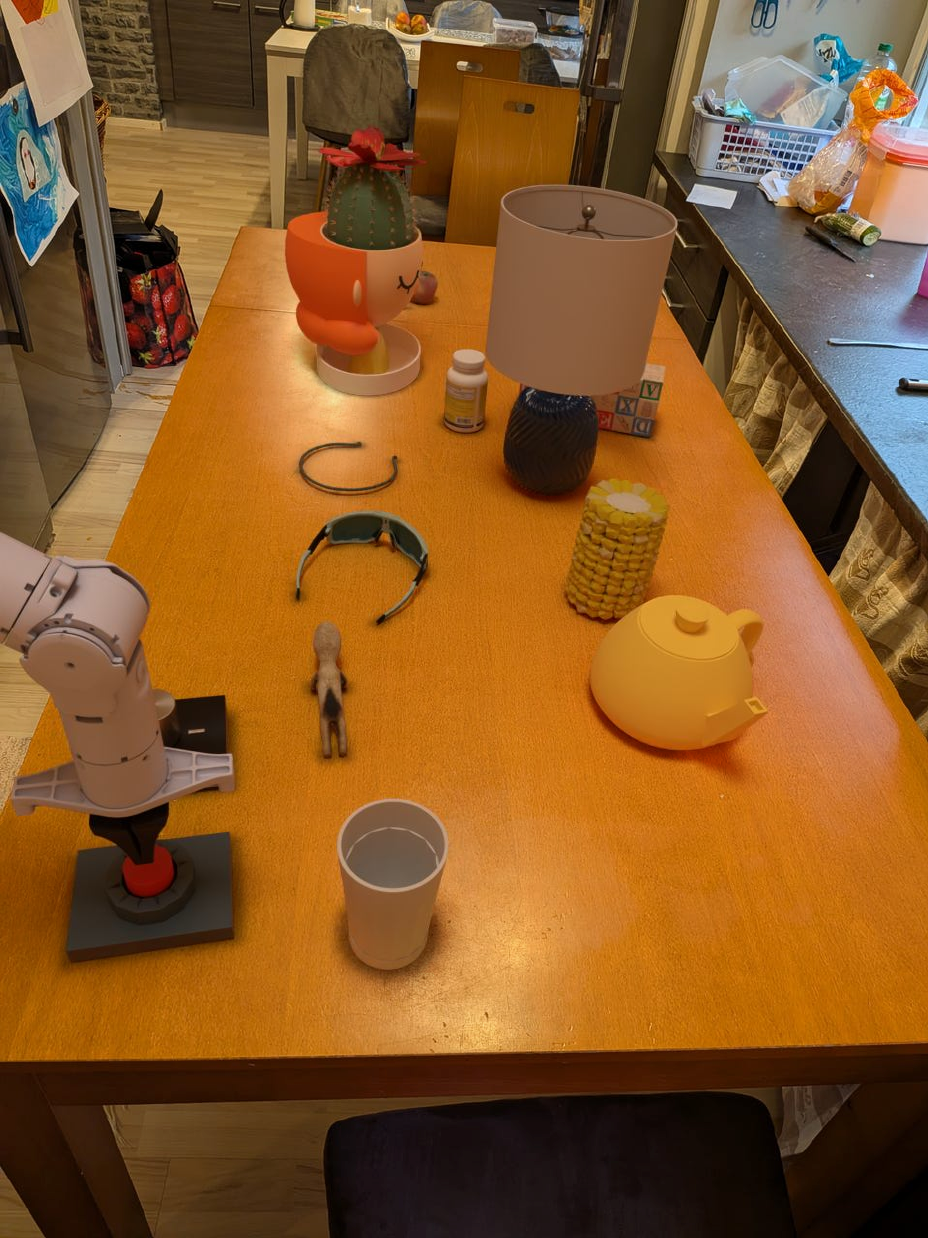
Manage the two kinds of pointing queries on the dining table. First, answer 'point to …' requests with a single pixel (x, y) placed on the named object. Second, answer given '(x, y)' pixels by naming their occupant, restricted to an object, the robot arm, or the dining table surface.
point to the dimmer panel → (203, 726)
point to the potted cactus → (359, 270)
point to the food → (616, 548)
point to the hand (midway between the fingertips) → (144, 853)
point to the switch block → (152, 900)
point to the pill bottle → (466, 392)
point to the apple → (426, 288)
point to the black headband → (344, 488)
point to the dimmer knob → (167, 717)
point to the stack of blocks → (631, 404)
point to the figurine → (329, 686)
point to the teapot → (679, 673)
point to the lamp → (571, 318)
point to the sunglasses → (370, 529)
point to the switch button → (149, 874)
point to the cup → (391, 879)
